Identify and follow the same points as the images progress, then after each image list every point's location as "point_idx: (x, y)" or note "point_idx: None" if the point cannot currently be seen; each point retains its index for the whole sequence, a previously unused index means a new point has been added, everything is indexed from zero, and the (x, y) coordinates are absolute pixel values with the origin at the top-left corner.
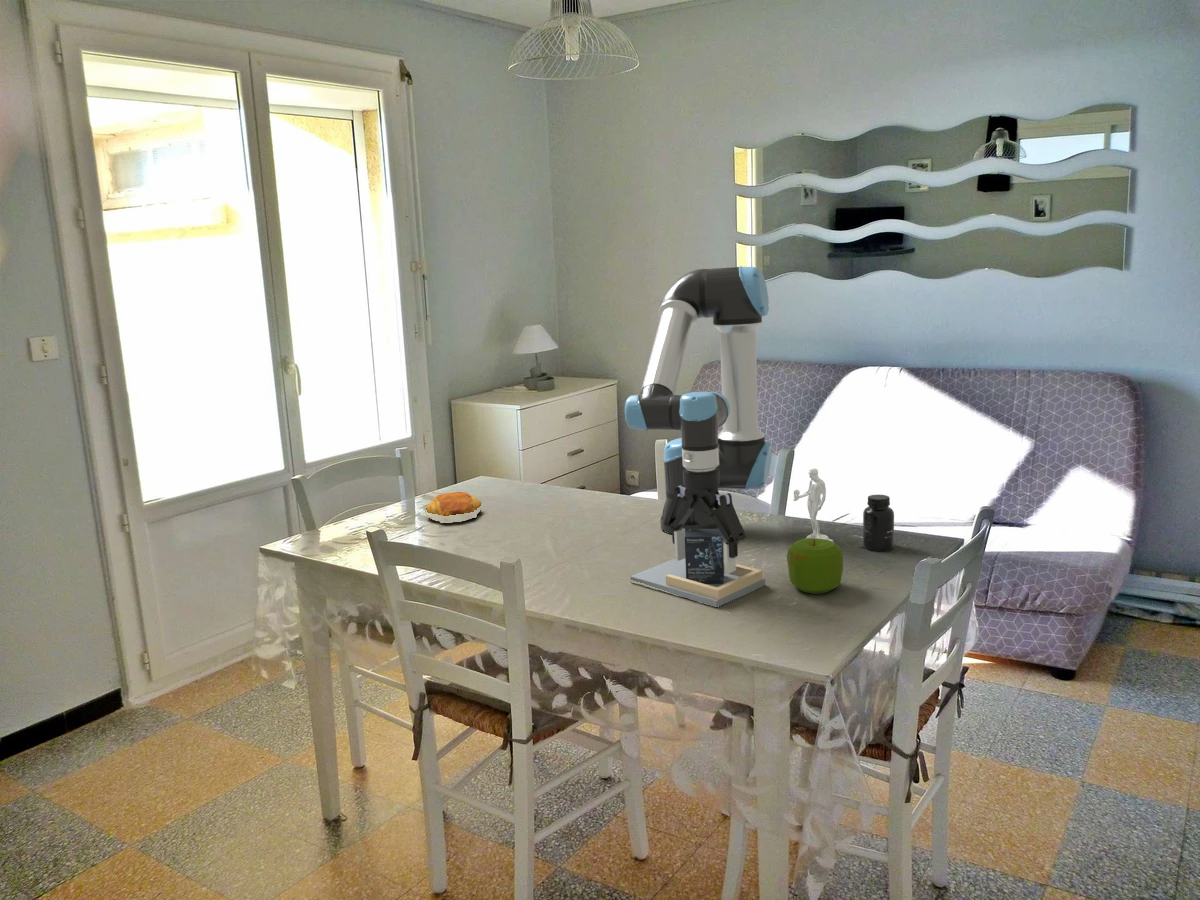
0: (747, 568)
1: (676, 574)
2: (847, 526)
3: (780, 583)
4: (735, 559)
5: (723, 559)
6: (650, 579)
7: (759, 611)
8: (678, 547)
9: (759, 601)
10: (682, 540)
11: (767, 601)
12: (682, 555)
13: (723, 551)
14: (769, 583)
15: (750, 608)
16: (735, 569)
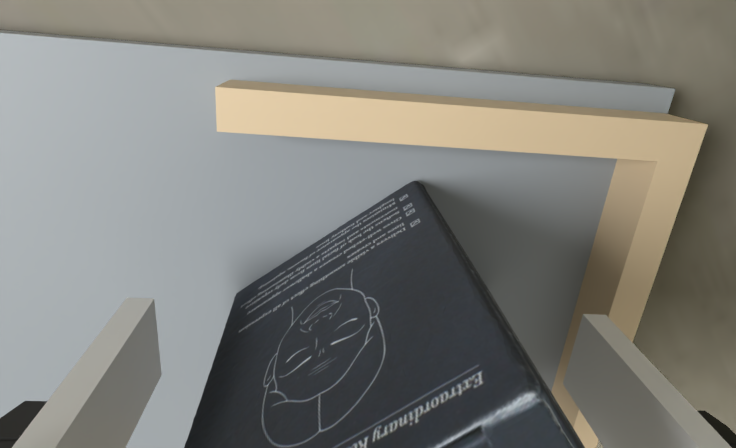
0: (599, 147)
1: (170, 313)
2: None
3: (723, 3)
4: (651, 363)
5: (473, 266)
6: None
7: (723, 365)
8: (121, 443)
9: (689, 283)
10: (90, 439)
11: (725, 265)
12: (148, 352)
13: (462, 250)
14: (660, 41)
15: (677, 360)
16: (609, 323)
